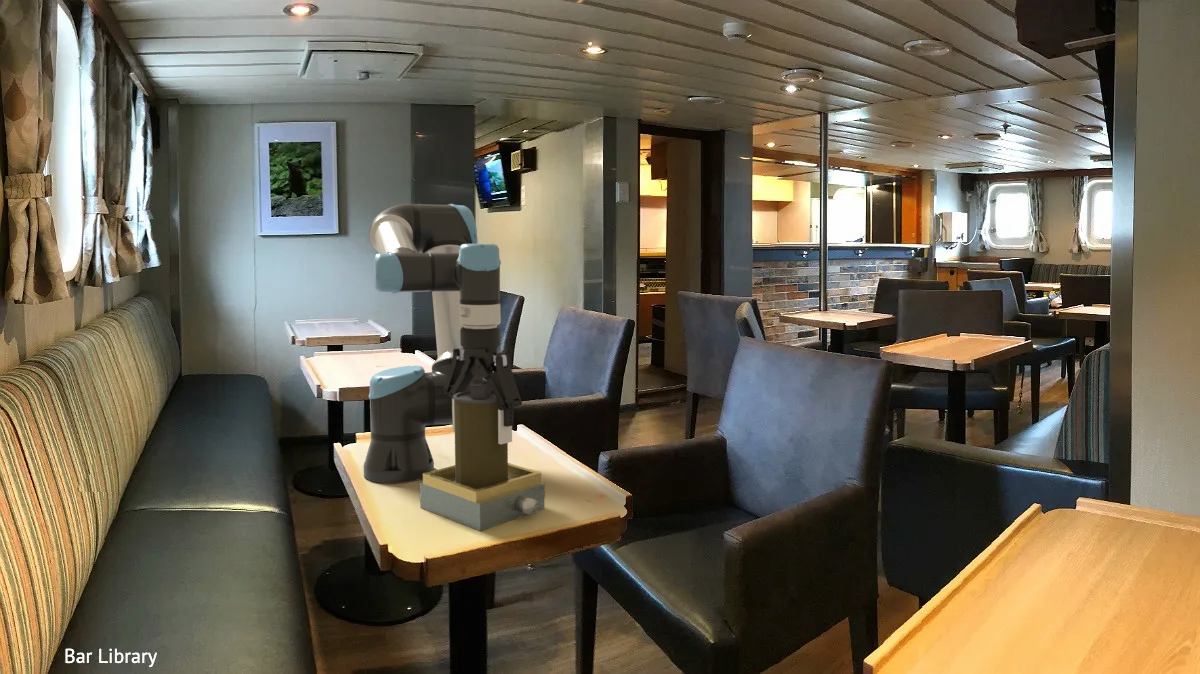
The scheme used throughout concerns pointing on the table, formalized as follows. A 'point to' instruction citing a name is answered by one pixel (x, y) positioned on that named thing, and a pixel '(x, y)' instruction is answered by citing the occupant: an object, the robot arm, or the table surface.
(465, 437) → the canister
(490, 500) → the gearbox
